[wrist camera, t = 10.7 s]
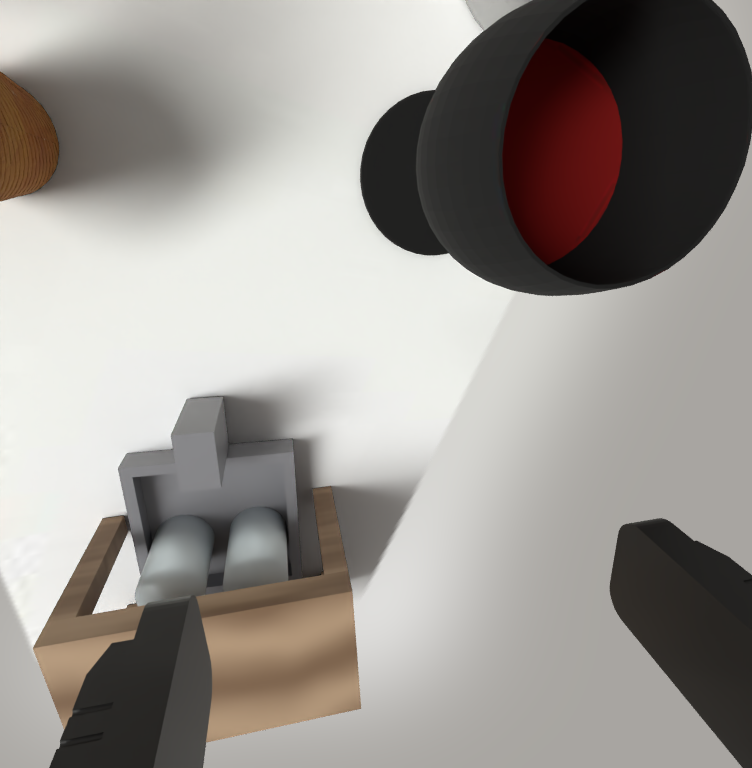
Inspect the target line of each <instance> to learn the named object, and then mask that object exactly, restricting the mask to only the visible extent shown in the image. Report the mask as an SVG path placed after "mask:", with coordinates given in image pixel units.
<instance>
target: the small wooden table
mask: <svg viewBox="0 0 752 768" xmlns="http://www.w3.org/2000/svg"><path fill="white" fill-rule="evenodd" d="M313 498H314V507H315V514H316V522H317V529H318V537H319V544H320V551H321V559H322V566H323V572H321V575H319V576H313V577H308V578H302V579H296V580H290V581H284V582H278V583H272V584H267V585H261V586H255V587H249V588H243V589H237V590H232V591H226V592H220V593H214V594H208V595H202V596H196V598H197V601H198V605H199V609H200V614H201V618H202V623H203V627H204V632H205V636H206V641H207V645H208V650H209V654H210V659H211V667H212V699H211V708H210V716H209V724H208V731H207V739H206V742H211V741H215V740H220V739H224V738H229V737H234V736H238V735H242V734H247V733H252V732H256V731H261V730H266V729H270V728H274V727H279V726H284V725H288V724H293V723H298V722H302V721H306V720H311V719H316V718H320V717H325V716H330V715H334V714H338V713H343V712H347V711H352V710H357V709H361V702H360V688H359V675H358V662H357V648H356V635H355V621H354V608H353V595H352V588H351V583H350V578H349V573H348V568H347V563H346V558H345V553H344V548H343V543H342V538H341V533H340V528H339V523H338V519H337V514H336V509H335V504H334V499H333V494H332V489H331V486H328V487H321V488H314V489H313ZM127 533H128V529H127V526H126V522H125V518H124V515H123V516H116V517H109V518H103V519H102V521H101V523H100V524H99V526H98V528H97V530H96V532H95V534H94V536H93V537H92V539H91V541H90V543H89V545H88V547H87V549H86V550H85V552H84V554H83V556H82V558H81V560H80V562H79V563H78V565H77V567H76V569H75V571H74V573H73V575H72V576H71V578H70V580H69V582H68V584H67V586H66V588H65V589H64V591H63V593H62V595H61V597H60V599H59V601H58V602H57V604H56V606H55V608H54V610H53V612H52V614H51V615H50V617H49V619H48V621H47V623H46V625H45V627H44V628H43V630H42V632H41V634H40V636H39V638H38V640H37V641H36V643H35V645H34V647H33V650H34V653H35V655H36V658H37V660H38V663H39V666H40V668H41V671H42V673H43V676H44V678H45V681H46V683H47V686H48V689H49V691H50V694H51V696H52V699H53V701H54V704H55V707H56V709H57V712H58V714H59V717H60V719H61V722H62V725H63V727H64V730H65V727H66V725H67V722H68V719H69V717H72V713H73V712H72V709H73V707H74V704H75V702H76V699H77V697H78V694H79V692H80V689H81V687H82V684H83V682H84V679H85V677H86V674H87V673H88V672H89V671H90V669H91V668H92V667H93V666H94V665H95V663H96V662H97V661H98V660H99V658H100V657H101V656H102V655H103V653H104V652H105V651H106V650H107V648H108V647H109V646H110V645H111V643H115V642H121V641H126V640H132V639H134V637H135V634H136V631H137V627H138V624H139V621H140V618H141V615H142V612H143V609H144V607H145V605H144V606H138V605H137V604H131V605H127V608H126V609H120V610H115V611H109V612H103V613H97V614H92V613H93V610H94V608H95V606H96V604H97V601H98V599H99V597H100V594H101V592H102V590H103V588H104V585H105V583H106V581H107V579H108V576H109V574H110V572H111V569H112V567H113V565H114V563H115V560H116V558H117V556H118V554H119V551H120V549H121V547H122V544H123V542H124V540H125V538H126V535H127Z"/></svg>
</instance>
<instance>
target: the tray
mask: <svg viewBox="0 0 752 768" xmlns="http://www.w3.org/2000/svg"><path fill="white" fill-rule="evenodd" d="M171 440H172V446H173V449H171V450H159V451H148V452H137V453H127V454H126V455H125V457H124V459H123V461H122V462H121V464H120V466H119V467H118V471H119V476H120V481H121V486H122V490H123V495H124V500H125V505H126V509H127V514H128V519H129V523H130V528H131V533H132V538H133V542H134V547H135V552H136V556H137V561H138V566H139V571H140V575H141V577H140V580H139V582H138V585H137V588H136V592H135V600H136V604H137V605H138V606H144V605H146V604H147V603H149V602H154V601H160V600H166V599H172V598H178V597H184V596H190V595H195V596H202V595H208V594H214V593H220V592H226V591H232V590H237V589H243V588H249V587H255V586H261V585H267V584H272V583H278V582H284V581H290V580H296V579H302V566H301V551H300V537H299V523H298V508H297V494H296V479H295V465H294V451H293V439H283V440H272V441H261V442H249V443H238V444H229V442H228V434H227V426H226V417H225V409H224V401H223V396H221V397H207V398H193V399H187V400H186V402H185V404H184V407H183V409H182V411H181V413H180V416H179V418H178V420H177V423H176V425H175V427H174V429H173V432H172V434H171Z"/></svg>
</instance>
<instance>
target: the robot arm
mask: <svg viewBox="0 0 752 768" xmlns="http://www.w3.org/2000/svg"><path fill="white" fill-rule="evenodd" d="M530 1H532V0H466V3H467V6H468V7H469V9H470V11H471V13H472V15H473V17H474V19H475V20H476V21H477V23H478V24H479V25H480V26H481V27H482V29H483V30H484V31H485V30H486V29H487V28H488V27H490V26H491V25H492V24H494V23H495V22H496V21H497V20H499V19H500V18H501V17H503V16H504V15H506V14H508V13H509V12H511V11H513V10H515V9H517V8H518V7H520V6H522V5H524V4H526V3H528V2H530ZM610 595H611V599H612V602H613V605H614V608H615V610H616V612H617V614H618V615H619V617H620V618H621V620H622V621H623V622H624V623H625V625H626V626H627V627H628V628H629V630H630V631H631V632H632V633H633V635H634V636H635V637H636V638H637V639H638V641H639V642H640V643H641V644H642V646H643V647H644V648H645V649H646V650H647V652H648V653H649V654H650V655H651V656H652V658H653V659H654V660H655V661H656V663H657V664H658V665H659V666H660V667H661V669H662V670H663V671H664V672H665V673H666V675H667V676H668V677H669V678H670V679H671V681H672V682H673V683H674V684H675V686H676V687H677V688H678V689H679V691H680V692H681V693H682V694H683V696H684V697H685V698H686V699H687V700H688V701H689V703H690V704H691V705H692V706H693V708H694V709H695V710H696V711H697V713H698V714H699V715H700V716H701V717H702V719H703V720H704V721H705V722H706V724H707V725H708V726H709V727H710V728H711V730H712V731H713V732H714V733H715V734H716V736H717V737H718V738H719V739H720V740H721V742H722V743H723V744H724V745H725V747H726V748H727V749H728V750H729V752H730V753H731V754H732V755H733V756H734V758H735V759H736V760H737V761H738V762H739V764H740V765H741V766H742V767H743V768H752V575H751V574H750V573H748V572H747V571H746V570H744V569H743V568H742V567H741V566H739V565H738V564H737V563H735V562H734V561H733V560H732V559H731V558H729V557H728V556H726V555H724V554H722V553H720V552H718V551H716V550H714V549H712V548H710V547H708V546H706V545H704V544H702V543H700V542H698V541H693V540H692V539H691V538H690V537H688V536H687V535H686V534H685V533H683V532H682V531H681V530H680V529H679V528H677V527H676V526H675V525H674V524H672V523H671V522H670V521H668V520H666V519H662V518H659V519H653V520H647V521H641V522H635V523H629V524H625V525H623V526H622V527H621V528H620V530H619V534H618V538H617V545H616V550H615V556H614V562H613V568H612V574H611V581H610ZM211 699H212V667H211V659H210V654H209V650H208V645H207V641H206V636H205V632H204V627H203V623H202V618H201V614H200V609H199V605H198V601H197V598H196V596H195V595H190V596H184V597H178V598H172V599H166V600H160V601H154V602H149V603H147V604H146V605H145V607H144V609H143V612H142V615H141V618H140V621H139V624H138V627H137V631H136V634H135V637H134V639H132V640H126V641H121V642H115V643H111V645H110V646H109V647H108V648H107V650H106V651H105V652H104V653H103V655H102V656H101V657H100V658H99V660H98V661H97V662H96V663H95V665H94V666H93V667H92V668H91V669H90V671H89V672H88V673H87V674H86V677H85V679H84V682H83V684H82V687H81V689H80V692H79V694H78V697H77V699H76V702H75V704H74V707H73V709H72V712H73V713H72V717H69V719H68V722H67V725H66V727H65V730H64V732H63V735H62V737H61V740H60V748H59V749H57V750H56V752H55V755H54V758H53V760H52V762H51V765H50V767H49V768H203V763H204V755H205V747H206V739H207V731H208V724H209V716H210V708H211Z"/></svg>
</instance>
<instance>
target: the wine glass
mask: <svg viewBox="0 0 752 768" xmlns="http://www.w3.org/2000/svg"><path fill="white" fill-rule="evenodd" d="M751 133H752V72H751V68H750V65H749V62H748V58H747V55H746V52H745V49H744V47H743V44H742V42H741V40H740V38H739V35H738V33H737V31H736V28H735V27H734V26H733V24H732V23H731V21H730V20H729V19H728V17H727V16H726V14H725V13H724V12H723V10H722V9H720V7H719V6H717V5H716V4H715V3H714V2H713V1H712V0H532V1H530V2H528V3H526V4H524V5H522V6H520V7H518V8H517V9H515V10H513V11H511V12H509V13H508V14H506V15H504V16H503V17H501V18H500V19H499V20H497V21H496V22H495V23H494V24H492V25H491V26H490V27H488V28H487V29H486V30H485V31H483V32H482V33H481V34H480V35H479V36H477V37H476V38H475V39H474V40H473V41H472V42H471V43H470V44H469V45H468V46H467V47H466V48H465V49H464V51H463V52H462V53H461V54H460V55H459V56H458V57H457V58H456V59H455V61H454V62H453V63H452V65H451V66H450V68H449V69H448V71H447V72H446V74H445V75H444V76H443V78H442V79H441V81H440V82H439V84H438V86H437V88H436V90H431V91H423V92H420V93H416V94H413V95H410V96H409V97H407V98H405V99H403V100H401V101H399V102H398V103H397V104H395V105H394V106H393V107H391V108H390V109H389V110H388V111H387V112H386V113H385V114H384V115H383V116H382V117H381V118H380V119H379V121H378V122H377V124H376V125H375V127H374V128H373V130H372V132H371V134H370V136H369V138H368V140H367V142H366V145H365V149H364V152H363V155H362V162H361V168H360V182H361V190H362V196H363V199H364V203H365V206H366V209H367V211H368V213H369V215H370V217H371V219H372V221H373V222H374V224H375V225H376V227H377V228H378V229H379V230H380V231H381V233H382V234H383V235H384V236H385V237H386V238H387V239H389V240H390V241H391V242H393V243H394V244H395V245H397V246H399V247H401V248H403V249H405V250H407V251H410V252H413V253H416V254H422V255H441V254H447V253H449V254H450V255H451V256H452V257H453V258H454V259H455V260H456V261H458V262H459V263H460V264H461V265H462V266H464V267H465V268H466V269H468V270H469V271H470V272H472V273H474V274H475V275H477V276H479V277H481V278H482V279H484V280H486V281H488V282H491V283H493V284H496V285H498V286H501V287H504V288H507V289H510V290H514V291H518V292H524V293H529V294H535V295H545V296H561V295H581V294H589V293H596V292H602V291H607V290H612V289H617V288H621V287H627V286H631V285H634V284H637V283H639V282H642V281H645V280H648V279H650V278H652V277H654V276H656V275H658V274H660V273H661V272H663V271H665V270H667V269H669V268H670V267H671V266H673V265H674V264H675V263H677V262H678V261H680V260H681V259H682V258H684V257H685V256H686V255H687V254H688V253H689V252H690V251H691V250H692V249H693V248H695V247H696V246H697V245H698V244H699V243H700V242H701V240H702V239H703V238H704V237H705V236H706V235H707V233H708V232H709V231H710V230H711V228H712V227H713V226H714V225H715V223H716V221H717V220H718V219H719V217H720V216H721V214H722V213H723V211H724V209H725V208H726V206H727V204H728V202H729V200H730V198H731V196H732V194H733V192H734V190H735V188H736V186H737V183H738V181H739V178H740V176H741V173H742V170H743V168H744V166H745V162H746V158H747V153H748V149H749V145H750V140H751Z"/></svg>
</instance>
